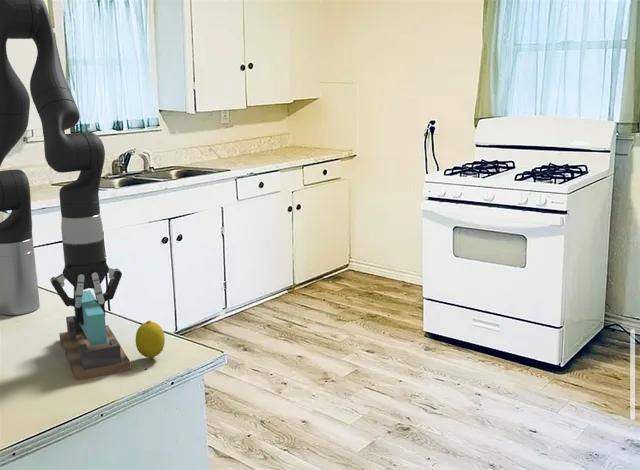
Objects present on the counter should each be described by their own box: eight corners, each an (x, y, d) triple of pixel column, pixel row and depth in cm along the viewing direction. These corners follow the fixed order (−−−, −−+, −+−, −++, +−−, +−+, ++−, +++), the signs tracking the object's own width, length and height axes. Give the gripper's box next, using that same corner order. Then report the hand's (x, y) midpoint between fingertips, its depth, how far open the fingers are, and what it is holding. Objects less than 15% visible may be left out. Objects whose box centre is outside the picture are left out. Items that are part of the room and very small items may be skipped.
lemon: (151, 367, 131) (148, 327, 129) (130, 360, 134) (128, 322, 132) (171, 357, 135) (169, 319, 133) (151, 351, 138) (149, 313, 136)
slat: (77, 319, 142) (75, 292, 141) (92, 317, 144) (90, 290, 142) (90, 346, 128) (87, 315, 127) (107, 343, 130) (104, 313, 128)
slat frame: (59, 339, 144) (57, 317, 143) (108, 331, 149) (106, 309, 148) (75, 380, 125) (73, 354, 124) (131, 369, 130) (129, 344, 129)
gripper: (116, 229, 138) (122, 311, 142) (42, 238, 132) (51, 322, 136) (124, 237, 131) (130, 322, 135) (46, 246, 125) (55, 335, 129)
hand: (90, 322), depth 136 cm, fingers closed on slat, 3 cm apart
